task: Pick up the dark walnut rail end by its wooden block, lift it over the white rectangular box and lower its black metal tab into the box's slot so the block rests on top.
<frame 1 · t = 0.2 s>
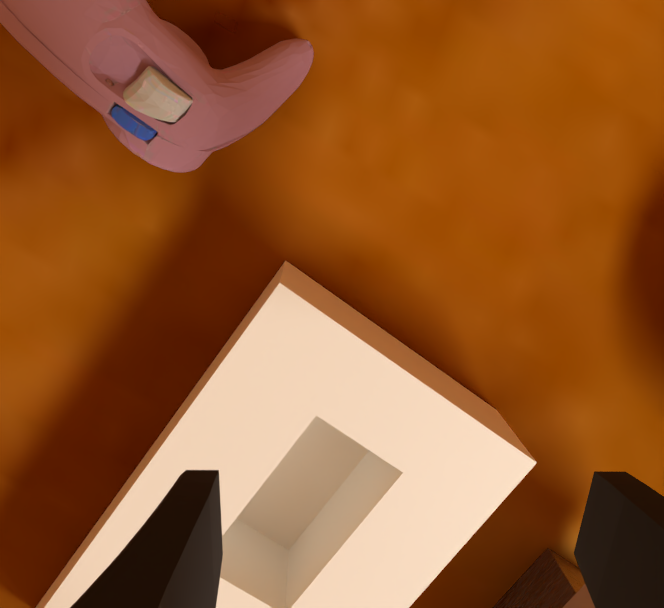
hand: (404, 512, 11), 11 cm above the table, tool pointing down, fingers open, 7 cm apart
pink piece: (158, 16, 18), on the table
white rectangular box: (258, 513, 23), on the table
rail end: (530, 603, 24), on the table
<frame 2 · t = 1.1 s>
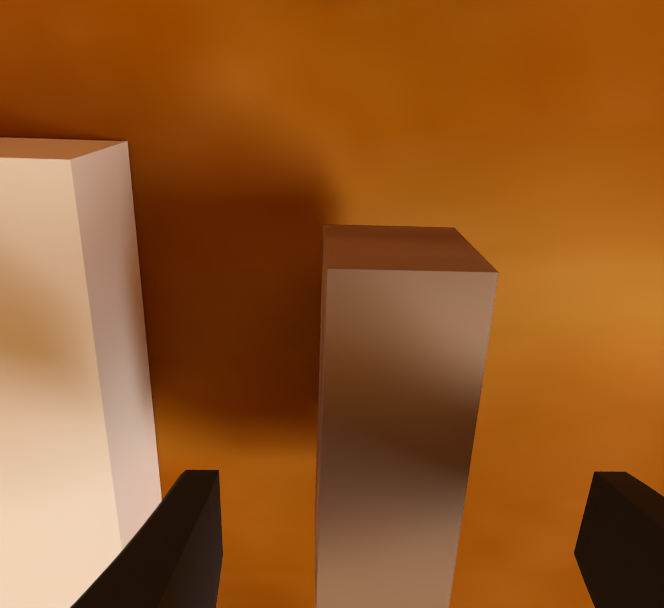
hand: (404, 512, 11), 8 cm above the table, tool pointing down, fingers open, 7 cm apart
white rectangular box: (0, 418, 19), on the table
rail end: (367, 341, 18), on the table
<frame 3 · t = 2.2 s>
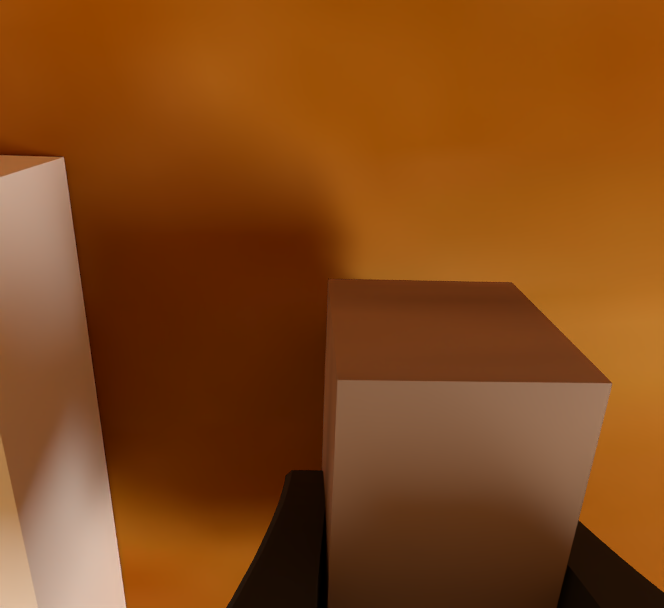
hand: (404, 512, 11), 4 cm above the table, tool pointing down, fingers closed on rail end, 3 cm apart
rail end: (382, 410, 14), on the table, touching gripper
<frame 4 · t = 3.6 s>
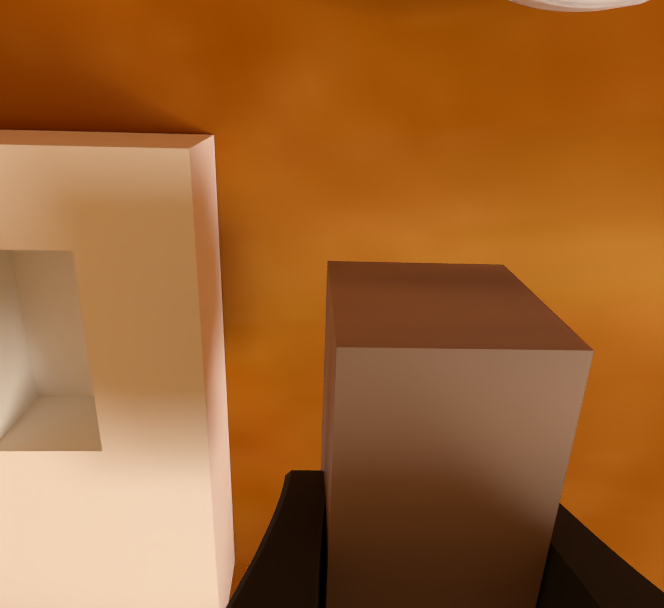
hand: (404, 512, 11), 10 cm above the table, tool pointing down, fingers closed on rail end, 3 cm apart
white rectangular box: (91, 380, 21), on the table
rail end: (380, 393, 15), point 6 cm above the table, touching gripper
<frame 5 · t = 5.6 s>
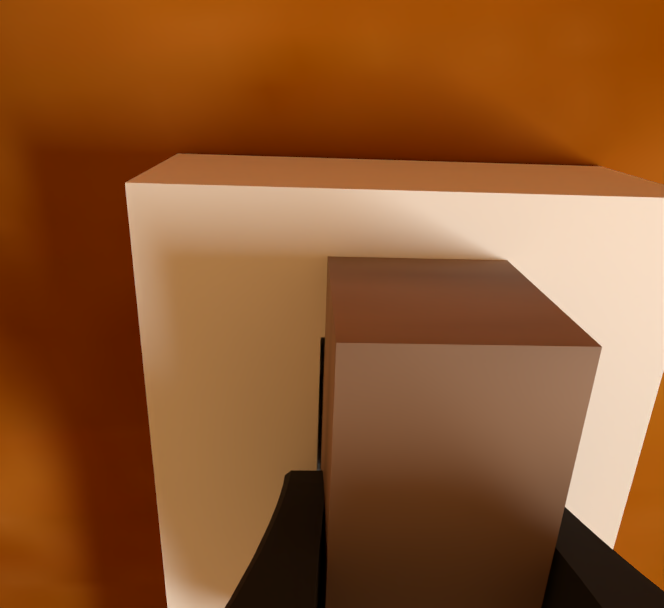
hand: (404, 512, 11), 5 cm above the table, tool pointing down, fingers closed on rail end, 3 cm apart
white rectangular box: (370, 473, 17), on the table
rail end: (381, 392, 14), point 1 cm above the table, touching gripper, white rectangular box
when the fingers open (5 cm above the table, at t = 6.0 s): rail end stays where it is, resting on white rectangular box.
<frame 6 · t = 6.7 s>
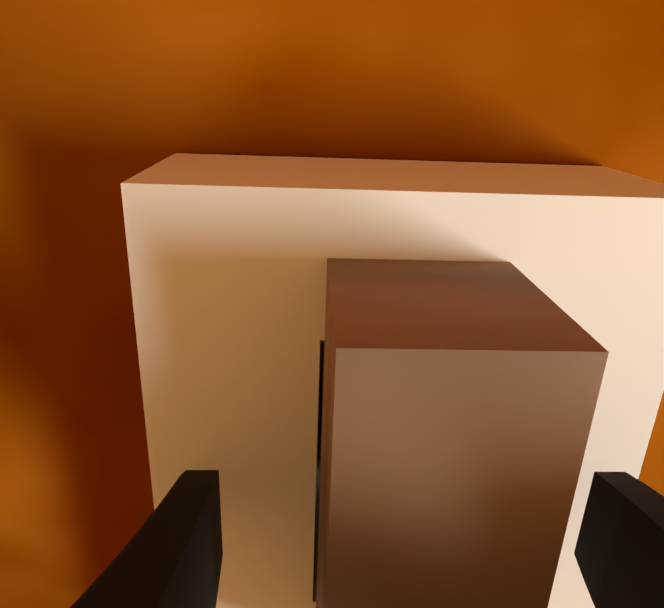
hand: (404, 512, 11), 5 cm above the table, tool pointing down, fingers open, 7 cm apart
white rectangular box: (370, 476, 16), on the table
rail end: (381, 395, 14), point 1 cm above the table, touching white rectangular box
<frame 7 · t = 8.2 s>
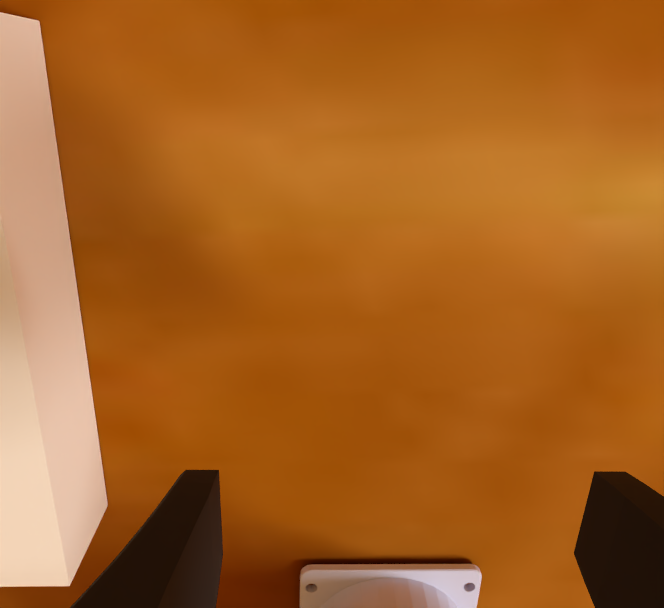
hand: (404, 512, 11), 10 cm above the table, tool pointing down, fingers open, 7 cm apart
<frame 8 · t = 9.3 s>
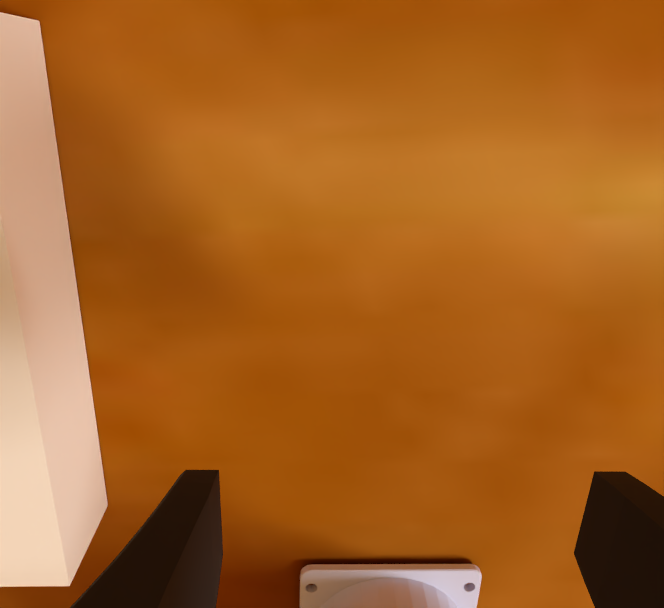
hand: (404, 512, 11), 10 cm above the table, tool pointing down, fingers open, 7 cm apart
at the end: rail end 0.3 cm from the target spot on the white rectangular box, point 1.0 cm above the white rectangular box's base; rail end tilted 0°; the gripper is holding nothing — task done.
